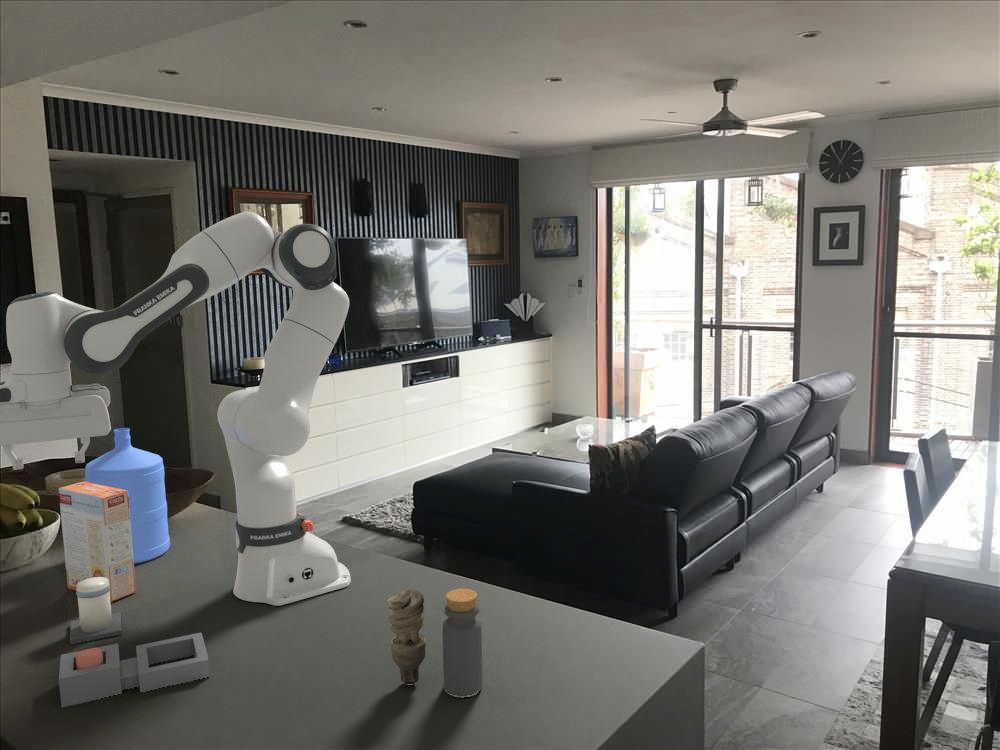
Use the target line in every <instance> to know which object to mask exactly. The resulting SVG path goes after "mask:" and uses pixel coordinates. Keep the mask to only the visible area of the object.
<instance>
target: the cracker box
mask: <svg viewBox="0 0 1000 750" xmlns="http://www.w3.org/2000/svg"><path fill="white" fill-rule="evenodd" d="M58 498H59V507H60V509H59V510H60V517H61V519H60V520H61V530H62V540H63V550H64V563H65V564H64V565H65V571H66V582H67V584H66V585H67V589H68V590H72V591H75V592H76V588H77V586H76V585H77V584H78V583H79V582H80V581H83V580H85V579H89V578H94V577H105V578H107V579H108V581H109V585H110V590H109V592H110V603H113V602H115V601H117V600H120V599H122V598H125V597H128V596H130V595H133V594H135V593H136V592H137V590H136V589H137V587H136V575H135V564H134V559H133V547H132V535H131V522H130V509H129V497H128V491H127V490H122V489H118V488H113V487H108V486H103V485H99V484H94V483H90V482H85V481H79V482H76V483H73V484H69V485H66V486H61V487H59V488H58Z"/></svg>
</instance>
